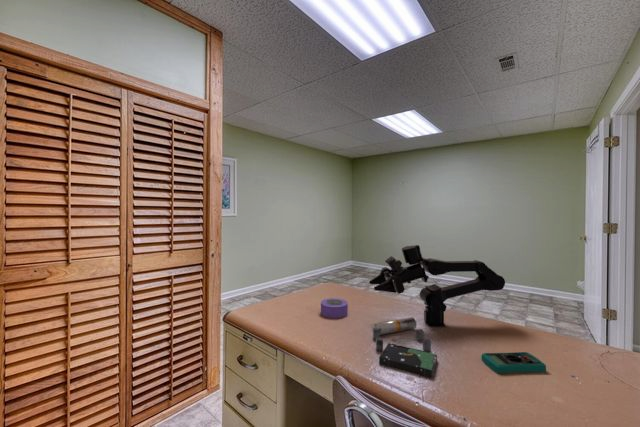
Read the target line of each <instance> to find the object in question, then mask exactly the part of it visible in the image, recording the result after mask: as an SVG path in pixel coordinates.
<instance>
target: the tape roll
mask: <svg viewBox="0 0 640 427" xmlns="http://www.w3.org/2000/svg"><path fill="white" fill-rule="evenodd" d="M348 305H349V303H348V301H347V300H345V299H342V298H338V297H337V298H335V297H334V298H332V297H330V298H325V299H323V300H321V302H320V315H321V316H323V317H324V316H325V317H326V318H327V319H328V318H329V319H341V317H342V318H345V317H346V315H347V316H348V313H349V312H348V308H349V307H348Z"/></svg>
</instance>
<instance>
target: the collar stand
mask: <svg viewBox="0 0 640 427" xmlns="http://www.w3.org/2000/svg"><path fill="white" fill-rule="evenodd" d="M415 329H416V330H415V331H416V335H415V338H416V341H417V342H418V343H419V342H422V351H426V352H430V353H432V341H431V339H430V338H425V337H424V336H425V331H424V329H422V328H420V329H419V328H415ZM372 339H373V341H375V351H376V352H383V350H384V339H383V337H380V335H379V328H374V327H372ZM391 339H392V341H393V342H394V341H395V342H396V338H395V337H392V338H391Z"/></svg>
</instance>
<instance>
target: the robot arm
mask: <svg viewBox="0 0 640 427" xmlns="http://www.w3.org/2000/svg"><path fill="white" fill-rule="evenodd" d="M401 252H402V255H403V259H404V262H405V263H406V264H408V266H402V265H403V262H402V261H401V260H400V259H396V258H395V257H393V256H392V255H390V256H389V257H388V258H386V260H385V263H386V264H387V265H388V266H389V267H390V268H388V267H387V266H385V267H382V268H381V269H380V273H379V274H378V275H377V276H375V277H374V278H372V279H370V280H369V281H368V283H369V284H370V285H376V286H374V287H373V289H374V291H379V292H388V293H393V294H402V293H404V291H405V289H406V288H405V286H404V284H411V283H412V282H413V281H417V280H420V279H421V281H423V282H424V283H427V282H428V279H429V278H430V277H429V275H432V276H441V275H445V274H447V273H455V272H456V273H457V272H461V273H462V272H463V273H464V272H469V273H470V272H471V273H472V272H475V274H476V275H477V276H476V278H473V279H469V280H467V281H464V282H463V281H462V282H459V283H456V284H451V285H447V286H443V287H440V286H438V285H437V284H435V283H433V284H431V285H424V287H423V288H422V289H421V290H420V292H419V297H420V299H421V301H423V303H424V305H425V306H424V307H425V308H424V310H423V321H424V322H425V323H426V324H427V326H429V327H447V326H446V324H445V312H446V309H447V305H446V304H445V302H446V301H447V300H449V299H452V298H453V299H454V298H456V297H459V296H464V295H468V294H471V293H476V292H479V291H491V292H493V291H501V290H503V289H505V288H504V287H505V285H506V280H505V278H504V277H503V276H502V275H499V274H498V273H497V272H496V271H494V270H492V269H491V268H490V267H489V266H488V265H487V264H485V262H483V261H481V260H477V259H475V260H449V261H448V260H447V261H446V260H442V259H441V260H440V259H435V258H429V257H428V258H425V257H423V255H422V252H421V248H420V245H418V244H415V245H407V246H404V247H402V248H401ZM427 273H428V274H429V275H427Z"/></svg>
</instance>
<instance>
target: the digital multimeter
mask: <svg viewBox="0 0 640 427" xmlns="http://www.w3.org/2000/svg"><path fill="white" fill-rule="evenodd" d="M481 361H482V362H483V363H484V364H485V365H486V366H487V367H488V368H490V369H491V370H492V371H493V372H495V373H496V374H499V375H500V374H501V375H502V374H503V375H504V374H515V373H517V374H520V373H521V374H522V373H546V372H547V365H546V364H545V363H544V362H543V361H541V360H540V359H539V358H538V357H536V356H535V355H533V354H532V353H529V352H527V351H522V352H521V351H520V352H519V351H517V352H484V353H482V354H481Z"/></svg>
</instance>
